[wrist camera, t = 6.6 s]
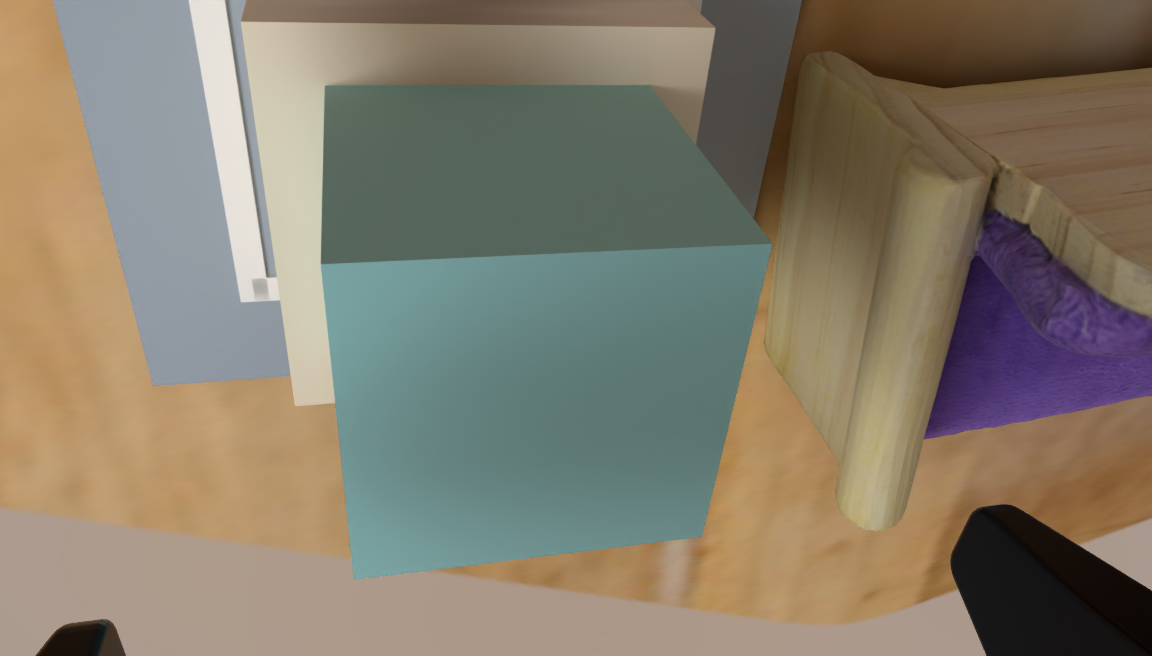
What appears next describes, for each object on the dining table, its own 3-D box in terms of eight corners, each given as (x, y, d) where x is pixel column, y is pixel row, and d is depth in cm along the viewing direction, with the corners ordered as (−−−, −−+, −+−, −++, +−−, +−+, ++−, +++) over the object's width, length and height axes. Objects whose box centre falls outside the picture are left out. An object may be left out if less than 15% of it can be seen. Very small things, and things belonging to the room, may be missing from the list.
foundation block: (644, -38, 17) (715, 27, 14) (607, 271, 21) (656, 377, 18) (259, -50, 15) (241, 22, 12) (301, 287, 19) (294, 406, 16)
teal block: (649, 85, 14) (772, 243, 10) (615, 337, 17) (701, 536, 13) (324, 85, 13) (321, 264, 9) (348, 355, 16) (353, 579, 12)
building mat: (859, -310, 15) (873, -310, 15) (720, 335, 23) (726, 345, 23) (-44, -408, 12) (-56, -410, 12) (156, 374, 20) (152, 388, 20)
